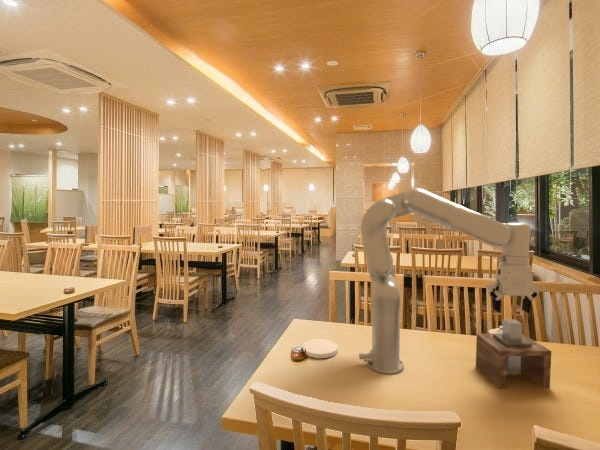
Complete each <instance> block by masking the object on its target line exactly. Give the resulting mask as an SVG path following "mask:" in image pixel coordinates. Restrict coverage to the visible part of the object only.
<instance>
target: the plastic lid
mask: <svg viewBox="0 0 600 450" xmlns="http://www.w3.org/2000/svg"><path fill="white" fill-rule="evenodd" d="M302 347H304V348H305V349H306V354H307V355H306V354H305V355H306V356H308V357H310V358H315V359H325V358H331V357H333V356H335V355H337V354H338V350H339V346H338V344H337V343H336V342H335V341H332V340H329V339H326V338H325V339H324V338H315V339H309V340H307V341H305V342H303V343H302Z"/></svg>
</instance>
